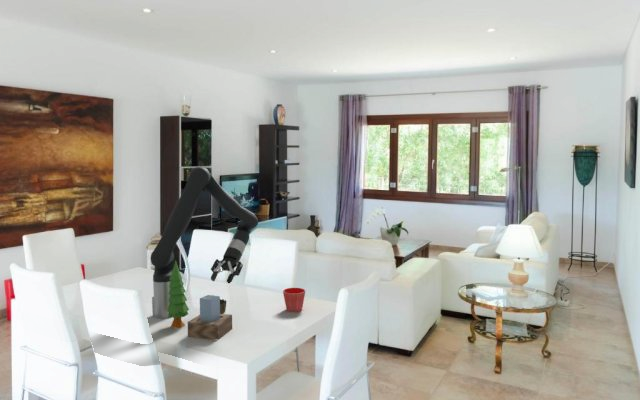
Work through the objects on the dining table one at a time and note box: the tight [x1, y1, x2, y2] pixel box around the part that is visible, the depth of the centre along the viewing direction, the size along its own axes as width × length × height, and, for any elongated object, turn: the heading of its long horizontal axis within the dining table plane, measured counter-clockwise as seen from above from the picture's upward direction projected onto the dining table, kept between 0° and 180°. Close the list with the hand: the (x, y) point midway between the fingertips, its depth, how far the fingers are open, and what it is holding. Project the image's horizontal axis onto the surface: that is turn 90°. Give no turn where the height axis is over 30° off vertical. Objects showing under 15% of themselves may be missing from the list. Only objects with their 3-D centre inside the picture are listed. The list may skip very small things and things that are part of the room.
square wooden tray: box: [187, 313, 233, 341], centre depth 226 cm, size 14×14×7 cm
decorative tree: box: [167, 259, 190, 329], centre depth 234 cm, size 10×9×30 cm
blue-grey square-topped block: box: [199, 294, 221, 322], centre depth 225 cm, size 6×6×10 cm
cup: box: [220, 298, 227, 314], centre depth 247 cm, size 8×7×8 cm
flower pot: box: [282, 287, 306, 313], centre depth 259 cm, size 11×11×10 cm
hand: (220, 281), depth 231 cm, fingers open, 8 cm apart
